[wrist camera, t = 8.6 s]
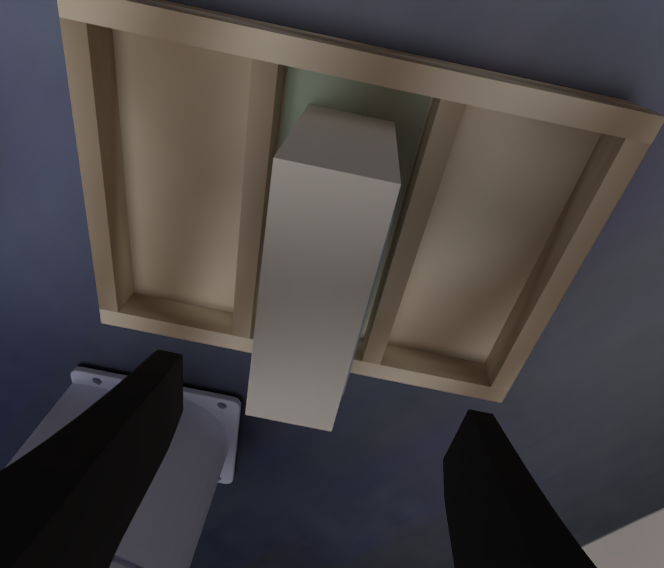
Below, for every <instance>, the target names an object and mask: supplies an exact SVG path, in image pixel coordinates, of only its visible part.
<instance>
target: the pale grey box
mask: <svg viewBox="0 0 664 568" xmlns="http://www.w3.org/2000/svg"><path fill="white" fill-rule="evenodd" d="M400 186H401V179H400V169H399V160H398V151H397V141H396V132H395V122H392V121H387V120H383V119H378V118H373V117H369V116H364V115H359V114H355V113H350V112H345V111H340V110H336V109H331V108H326V107H322V106H317V105H312V104H308V106H307V107H306V109H305V110H304V112H303V113H302V115H301V116H300V118H299V119H298V121H297V122H296V124H295V125H294V127H293V128H292V130H291V131H290V133H289V134H288V136H287V137H286V139H285V140H284V142H283V143H282V145H281V147H280V148H279V150H278V151H277V153H276V154H275V156H274V157H273V165H272V174H271V183H270V192H269V201H268V210H267V219H266V229H265V238H264V247H263V256H262V265H261V274H260V283H259V293H258V302H257V311H256V320H255V329H254V338H253V347H252V356H251V366H250V375H249V384H248V393H247V402H246V411H245V415H249V416H254V417H259V418H264V419H270V420H275V421H280V422H285V423H290V424H295V425H300V426H305V427H310V428H315V429H321V430H326V431H331V432H332V428H333V425H334V421H335V418H336V414H337V410H338V407H339V403H340V400H341V396H342V395H344V392H345V388H346V385H347V381H348V378H349V374H350V371H351V367H352V364H353V360H354V357H355V353H356V350H357V346H358V342H359V339H360V335H361V332H362V328H363V325H364V321H365V318H366V314H367V311H368V307H369V304H370V300H371V297H372V293H373V290H374V286H375V283H376V279H377V276H378V272H379V269H380V265H381V262H382V258H383V254H384V251H385V247H386V244H387V240H388V237H389V233H390V230H391V226H392V223H393V219H394V208H395V204H396V201H397V197H398V193H399V190H400Z"/></svg>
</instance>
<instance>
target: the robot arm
mask: <svg viewBox="0 0 664 568" xmlns="http://www.w3.org/2000/svg"><path fill="white" fill-rule="evenodd" d="M71 379H72V384H71V385H70V387H69V388H68V389H67V390H66V392H65V393H64V394H63V395H62V397H61V398H60V399H59V400H58V402H57V403H56V404H55V405H54V407H53V408H52V409H51V410H50V412H49V413H48V414H47V416H46V417H45V418H44V419H43V421H42V422H41V423H40V424H39V426H38V427H37V428H36V429H35V431H34V432H33V433H32V434H31V436H30V437H29V438H28V439H27V441H26V442H25V443H24V445H23V446H22V447H21V448H20V450H19V451H18V452H17V453H16V455H15V456H14V457H13V458H12V460H11V461H10V462H9V463H8V465H7V466H6V467H5V468H4V469H2V470H1V471H0V568H189V567H190V564H191V561H192V558H193V555H194V552H195V549H196V546H197V543H198V540H199V537H200V534H201V531H202V528H203V525H204V522H205V519H206V516H207V513H208V510H209V507H210V504H211V501H212V498H213V495H214V492H215V489H216V486H217V483H223V484H229V483H231V482H232V481H233V478H234V471H235V461H236V451H237V441H238V431H239V421H240V411H241V402H240V400H239V399H238V398H236V397H233V396H228V395H223V394H218V393H213V392H208V391H203V390H197V389H192V388H187V387H183V358H182V354H177V353H172V352H166V351H161V350H157V351H155V352H154V353H153V354H151V355H150V356H149V357H148V358H147V359H146V360H145V361H143V362H142V363H141V364H140V365H139V366H138V367H137V368H136V369H134V370H133V371H132V372H131V373H130V374H129V375H128V376H126V375H121V374H116V373H111V372H106V371H101V370H96V369H91V368H86V367H75V369H74V370H73V371H72V372H71ZM221 402H222V403H221ZM443 472H444V498H445V507H446V514H447V521H448V527H449V534H450V540H451V547H452V553H453V559H454V566H455V568H597V567H596V566H595V565H594V563H593V562H592V561H591V560H590V558H589V557H588V556H587V554H586V553H585V552H584V550H583V549H582V548H581V546H580V545H579V544H578V542H577V541H576V540H575V538H574V537H573V536H572V534H571V533H570V531H569V530H568V529H567V527H566V526H565V525H564V523H563V522H562V520H561V519H560V518H559V516H558V515H557V513H556V512H555V510H554V509H553V508H552V506H551V505H550V503H549V502H548V500H547V499H546V497H545V496H544V494H543V493H542V491H541V490H540V488H539V487H538V485H537V484H536V482H535V481H534V479H533V477H532V476H531V474H530V473H529V471H528V470H527V468H526V467H525V465H524V463H523V462H522V460H521V459H520V457H519V455H518V454H517V452H516V451H515V449H514V447H513V446H512V444H511V443H510V441H509V439H508V438H507V436H506V434H505V433H504V431H503V430H502V428H501V426H500V425H499V423H498V422H497V420H496V418H495V417H494V415H493V414H490V413H485V412H480V411H475V410H468V412H467V414H466V416H465V417H464V419H463V421H462V423H461V425H460V427H459V429H458V431H457V433H456V435H455V437H454V439H453V441H452V443H451V445H450V447H449V449H448V451H447V453H446V455H445V457H444V459H443Z"/></svg>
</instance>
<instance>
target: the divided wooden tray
mask: <svg viewBox="0 0 664 568" xmlns="http://www.w3.org/2000/svg"><path fill="white" fill-rule="evenodd" d="M57 4H58V11H59V18H60V26H61V33H62V40H63V47H64V55H65V62H66V69H67V77H68V84H69V91H70V98H71V106H72V113H73V120H74V127H75V135H76V142H77V149H78V157H79V164H80V171H81V178H82V186H83V193H84V200H85V208H86V215H87V222H88V229H89V237H90V244H91V251H92V259H93V266H94V273H95V280H96V288H97V295H98V302H99V310H100V317H101V323H104V324H109V325H114V326H119V327H124V328H129V329H134V330H139V331H144V332H149V333H154V334H159V335H164V336H169V337H174V338H179V339H184V340H189V341H194V342H199V343H204V344H209V345H214V346H219V347H224V348H229V349H234V350H239V351H244V352H249V353H252V347H253V338H254V329H255V320H256V311H257V302H258V293H259V283H260V274H261V265H262V256H263V247H264V238H265V229H266V219H267V210H268V201H269V192H270V183H271V174H272V165H273V157H274V156H275V154H276V153H277V151H278V150H279V148H280V147H281V145H282V143H283V142H284V140H285V139H286V137H287V136H288V134H289V133H290V131H291V130H292V128H293V127H294V125H295V124H296V122H297V121H298V119H299V118H300V116H301V115H302V113H303V112H304V110H305V109H306V107H307V106H308V104H312V105H317V106H322V107H326V108H331V109H336V110H340V111H345V112H350V113H355V114H359V115H364V116H369V117H373V118H378V119H383V120H387V121H392V122H395V132H396V141H397V151H398V160H399V169H400V179H401V186H400V190H399V193H398V197H397V201H396V204H395V208H394V219H393V223H392V226H391V230H390V233H389V237H388V240H387V244H386V247H385V251H384V254H383V258H382V262H381V265H380V269H379V272H378V276H377V279H376V283H375V286H374V290H373V293H372V297H371V300H370V304H369V307H368V311H367V314H366V318H365V321H364V325H363V328H362V332H361V335H360V339H359V342H358V346H357V350H356V353H355V357H354V360H353V364H352V367H351V371H350V373H355V374H360V375H365V376H370V377H375V378H380V379H385V380H390V381H395V382H400V383H405V384H410V385H415V386H420V387H425V388H430V389H435V390H440V391H445V392H450V393H455V394H460V395H465V396H470V397H475V398H480V399H485V400H490V401H495V402H500V403H502V401H503V399H504V398H505V396H506V394H507V393H508V391H509V389H510V387H511V386H512V384H513V382H514V380H515V379H516V377H517V375H518V374H519V372H520V370H521V368H522V367H523V365H524V363H525V361H526V360H527V358H528V356H529V355H530V353H531V351H532V349H533V348H534V346H535V344H536V342H537V341H538V339H539V337H540V336H541V334H542V332H543V330H544V329H545V327H546V325H547V323H548V322H549V320H550V318H551V317H552V315H553V313H554V311H555V310H556V308H557V306H558V304H559V303H560V301H561V299H562V298H563V296H564V294H565V292H566V291H567V289H568V287H569V285H570V284H571V282H572V280H573V279H574V277H575V275H576V273H577V272H578V270H579V268H580V266H581V265H582V263H583V261H584V260H585V258H586V256H587V254H588V253H589V251H590V249H591V247H592V246H593V244H594V242H595V241H596V239H597V237H598V235H599V234H600V232H601V230H602V228H603V227H604V225H605V223H606V222H607V220H608V218H609V216H610V215H611V213H612V211H613V209H614V208H615V206H616V204H617V203H618V201H619V199H620V197H621V196H622V194H623V192H624V191H625V189H626V187H627V185H628V184H629V182H630V180H631V178H632V177H633V175H634V173H635V172H636V170H637V168H638V166H639V165H640V163H641V161H642V159H643V158H644V156H645V154H646V153H647V151H648V149H649V147H650V146H651V144H652V142H653V140H654V139H655V137H656V135H657V134H658V132H659V130H660V128H661V127H662V125H663V123H664V116H663V115H660V114H658V113H656V112H653V111H651V110H649V109H646V108H644V107H642V106H639V105H637V104H635V103H632V102H630V101H628V100H623V99H619V98H614V97H609V96H605V95H600V94H595V93H591V92H586V91H582V90H577V89H572V88H568V87H563V86H558V85H554V84H549V83H545V82H540V81H535V80H531V79H526V78H522V77H517V76H512V75H508V74H503V73H498V72H494V71H489V70H485V69H480V68H475V67H471V66H466V65H461V64H457V63H452V62H448V61H443V60H438V59H434V58H429V57H425V56H420V55H415V54H411V53H406V52H401V51H397V50H392V49H388V48H383V47H378V46H374V45H369V44H364V43H360V42H355V41H351V40H346V39H341V38H337V37H332V36H327V35H323V34H318V33H314V32H309V31H304V30H300V29H295V28H291V27H286V26H281V25H277V24H272V23H267V22H263V21H258V20H254V19H249V18H244V17H240V16H235V15H230V14H226V13H221V12H217V11H212V10H207V9H203V8H198V7H194V6H189V5H184V4H180V3H175V2H170V1H166V0H57Z"/></svg>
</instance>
